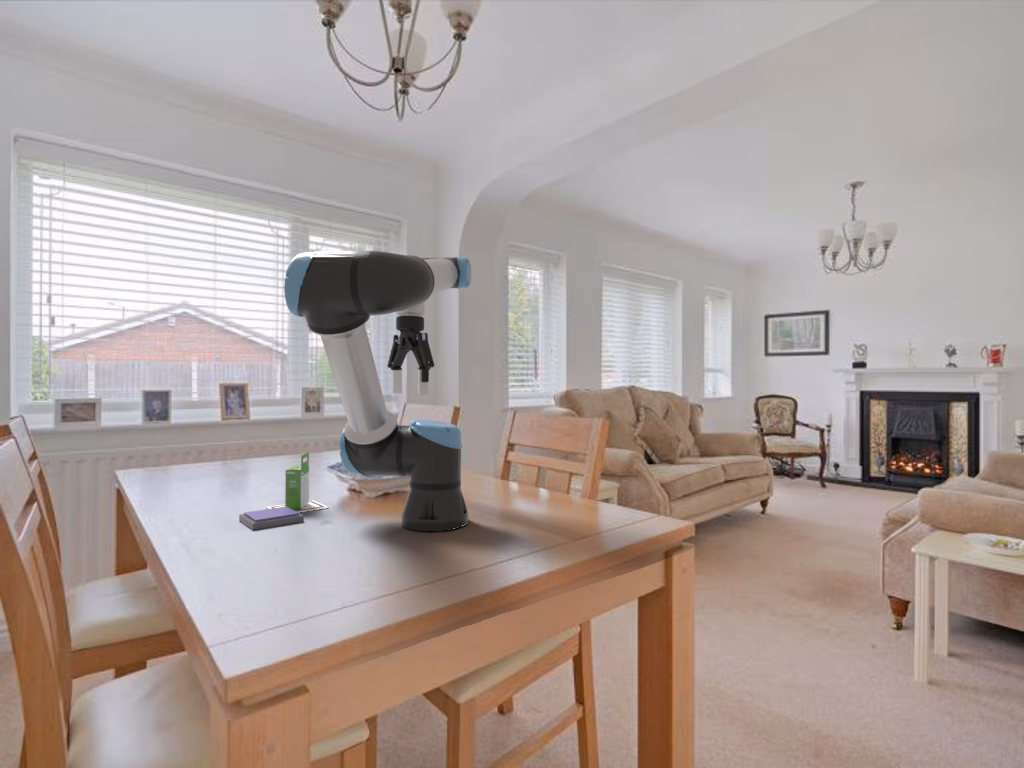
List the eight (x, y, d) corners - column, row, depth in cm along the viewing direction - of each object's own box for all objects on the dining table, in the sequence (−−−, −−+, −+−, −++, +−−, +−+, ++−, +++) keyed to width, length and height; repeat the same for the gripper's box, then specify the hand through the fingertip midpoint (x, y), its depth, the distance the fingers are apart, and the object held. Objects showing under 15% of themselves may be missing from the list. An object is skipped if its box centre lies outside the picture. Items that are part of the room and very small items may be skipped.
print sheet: (328, 508, 137) (328, 506, 137) (279, 516, 129) (279, 514, 129) (313, 501, 145) (313, 499, 145) (265, 508, 137) (266, 506, 137)
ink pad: (303, 521, 124) (303, 513, 124) (252, 530, 117) (252, 521, 117) (288, 513, 132) (288, 505, 132) (239, 520, 125) (239, 512, 125)
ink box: (293, 503, 140) (294, 451, 140) (309, 503, 141) (309, 451, 140) (284, 510, 133) (284, 455, 133) (301, 509, 134) (301, 455, 133)
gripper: (375, 318, 155) (375, 392, 155) (423, 311, 136) (422, 395, 136) (399, 320, 160) (398, 392, 160) (448, 313, 141) (447, 395, 141)
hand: (409, 394), depth 148 cm, fingers open, 13 cm apart
